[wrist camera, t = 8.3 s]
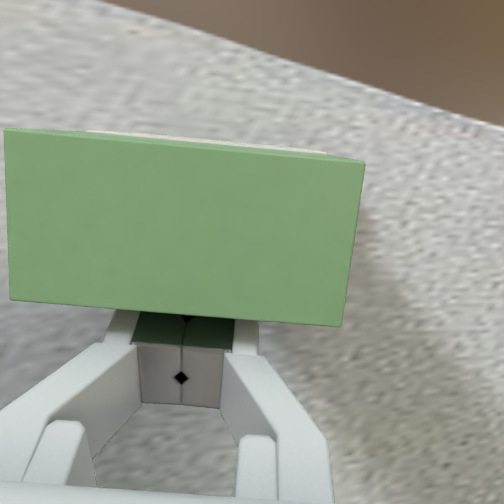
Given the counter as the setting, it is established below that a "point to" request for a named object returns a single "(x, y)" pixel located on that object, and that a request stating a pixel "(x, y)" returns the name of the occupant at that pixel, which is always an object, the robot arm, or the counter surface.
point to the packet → (180, 225)
